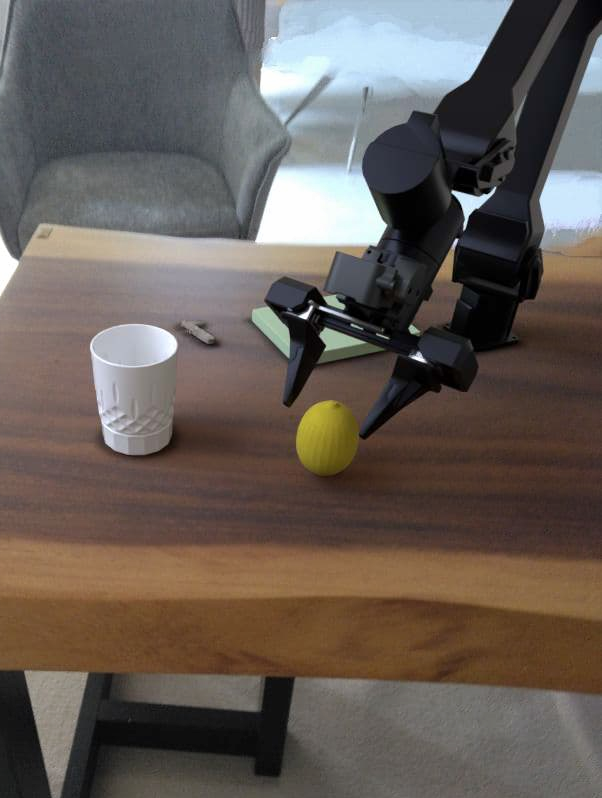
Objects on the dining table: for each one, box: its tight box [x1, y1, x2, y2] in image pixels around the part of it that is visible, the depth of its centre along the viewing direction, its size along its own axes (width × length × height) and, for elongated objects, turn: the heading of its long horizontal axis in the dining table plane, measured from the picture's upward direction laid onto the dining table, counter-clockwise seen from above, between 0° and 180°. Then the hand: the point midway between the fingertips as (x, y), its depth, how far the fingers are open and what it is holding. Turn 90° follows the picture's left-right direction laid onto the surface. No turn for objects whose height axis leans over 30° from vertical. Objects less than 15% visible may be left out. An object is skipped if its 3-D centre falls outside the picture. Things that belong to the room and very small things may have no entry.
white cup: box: [89, 323, 179, 456], centre depth 75 cm, size 8×8×10 cm
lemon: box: [295, 399, 360, 477], centre depth 71 cm, size 6×6×8 cm
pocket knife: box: [180, 319, 215, 345], centre depth 93 cm, size 6×1×3 cm
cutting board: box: [251, 294, 421, 365], centre depth 94 cm, size 16×12×2 cm
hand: (322, 421), depth 69 cm, fingers open, 7 cm apart
